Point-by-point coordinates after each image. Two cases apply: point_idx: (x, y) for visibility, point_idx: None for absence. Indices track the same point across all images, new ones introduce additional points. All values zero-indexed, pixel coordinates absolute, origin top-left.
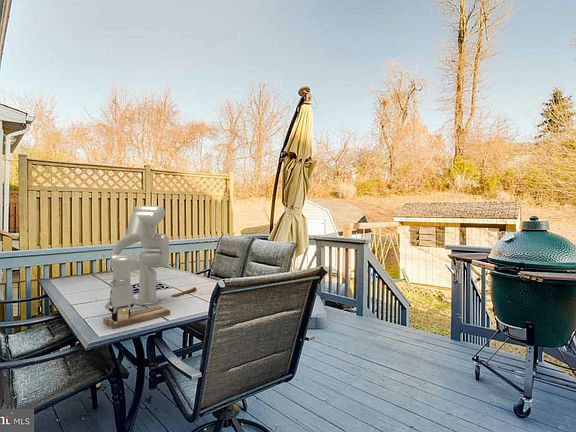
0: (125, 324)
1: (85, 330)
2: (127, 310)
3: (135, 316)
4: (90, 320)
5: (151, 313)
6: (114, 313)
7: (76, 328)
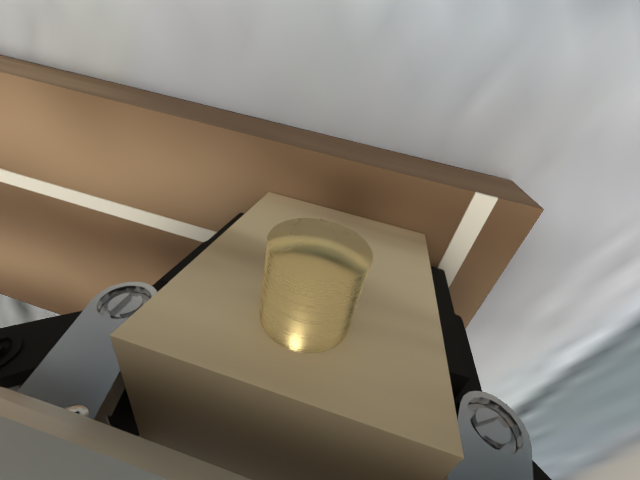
0: (352, 147)
1: (628, 396)
2: (209, 280)
3: (158, 204)
4: None
5: None
6: (456, 395)
7: (586, 466)
